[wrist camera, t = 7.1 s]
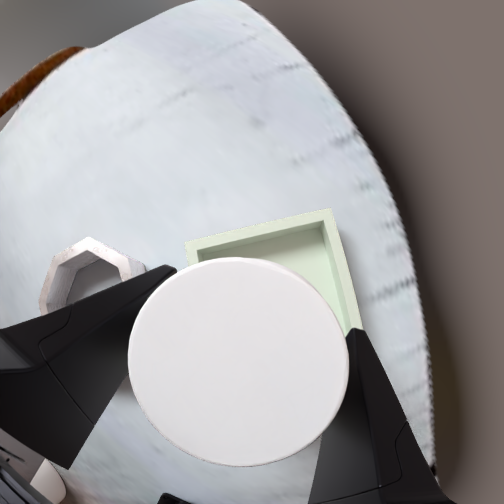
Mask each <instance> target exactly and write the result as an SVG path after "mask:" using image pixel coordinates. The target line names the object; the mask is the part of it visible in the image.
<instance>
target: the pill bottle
mask: <svg viewBox="0 0 504 504" xmlns="http://www.w3.org/2000/svg"><path fill="white" fill-rule="evenodd" d="M128 369H129V376H130V381H131V385H132V388H133V392H134V394H135V397H136V399H137V401H138V403H139V405H140V407H141V409H142V411H143V413H144V414H145V416H146V417H147V419H148V420H149V422H150V423H151V424H152V425H153V426H154V428H155V429H156V430H157V431H158V432H159V433H160V434H161V435H162V436H163V437H164V438H166V439H167V440H168V441H169V442H170V443H172V444H173V445H174V446H176V447H177V448H179V449H180V450H182V451H184V452H185V453H187V454H189V455H191V456H194V457H196V458H199V459H201V460H203V461H207V462H210V463H214V464H218V465H224V466H232V467H252V466H259V465H265V464H269V463H273V462H276V461H279V460H282V459H285V458H287V457H289V456H292V455H294V454H295V453H297V452H299V451H301V450H303V449H304V448H305V447H307V446H308V445H309V444H311V443H312V442H314V441H315V440H316V439H317V438H318V437H319V436H320V435H321V434H322V433H323V432H324V431H325V430H326V428H327V427H328V426H329V424H330V423H331V422H332V420H333V419H334V417H335V416H336V414H337V412H338V410H339V408H340V406H341V403H342V401H343V398H344V395H345V392H346V388H347V384H348V376H349V354H348V349H347V344H346V340H345V336H344V333H343V330H342V328H341V326H340V323H339V321H338V319H337V317H336V315H335V314H334V312H333V310H332V309H331V307H330V306H329V304H328V303H327V302H326V301H325V299H324V298H323V297H322V295H321V294H320V293H319V292H318V290H317V289H316V288H315V287H314V286H313V285H312V284H311V283H310V282H309V281H307V280H306V279H305V278H304V277H302V276H301V275H300V274H298V273H297V272H295V271H293V270H291V269H289V268H287V267H285V266H283V265H280V264H278V263H275V262H271V261H267V260H262V259H255V258H242V257H227V258H218V259H212V260H207V261H203V262H200V263H197V264H194V265H192V266H189V267H187V268H185V269H183V270H181V271H179V272H178V273H176V274H174V275H173V276H171V277H170V278H169V279H167V280H166V281H165V282H164V283H162V284H161V285H160V286H159V287H158V288H157V289H156V290H155V291H154V292H153V293H152V294H151V296H150V297H149V298H148V300H147V301H146V303H145V304H144V305H143V307H142V308H141V310H140V312H139V314H138V316H137V318H136V320H135V323H134V326H133V329H132V332H131V336H130V340H129V349H128Z"/></svg>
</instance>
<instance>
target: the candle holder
mask: <svg viewBox="0 0 504 504" xmlns="http://www.w3.org/2000/svg"><path fill="white" fill-rule="evenodd" d="M30 484H31V485H32V486H33V487H34V488H35V489H36V490H37V491H39V492H40V493H41V494H42V495H43V496H45V497H46V498H47V499H48V500H49V501H51V502H52V503H53V504H59V503H60V502H61V501H62V500H63V499H64V498H65V496H66V488H65V485H64V483H63V481H62V479H61V477H60V475H59V474H58V472H57V471H56V470H55V468H54V467H53V466H52V465H51V463H50V462H49V461H48V460H47V459H46V458H45V460H44V461H43V463H42V464H41V466H40V468H39V469H38V471H37V473H36V474H35V476H34V477H33V479H32V481H31V483H30Z"/></svg>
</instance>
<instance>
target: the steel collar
mask: <svg viewBox="0 0 504 504" xmlns="http://www.w3.org/2000/svg"><path fill="white" fill-rule="evenodd" d="M101 258H102V259H104V260H106V261H108V262H109V263H111V264H113V265H115V266H117V267H118V269H119V272H120V276H121V280H122V282H123V281H126V280H128V279H131V278H133V277H135V276H138V275H140V274H143V273H145V272H146V270H145V267H144V264H143V263H141V262H139V261H137V260H135V259H133V258H131V257H129V256H127V255H125V254H123V253H121V252H120V251H118V250H116V249H114V248H112V247H110V246H108V245H106V244H104V243H102V242H99V241H97V240H95V239H92V238H90V237H87V238H85V239H84V240H82V241H80V242H78V243H76V244H75V245H73V246H71V247H69V248H68V249H66V250H64V251H62V252H61V253H59V254H57V255H56V256H54V257H53V259H52V262H51V265H50V267H49V270H48V273H47V276H46V279H45V282H44V285H43V288H42V291H41V295H40V298H39V306H40V311H41V316H42V315H45V314H48V313H51V312H53V311H55V310H58V309H60V308H63V307H65V306H66V305H65V304H66V301H67V298H68V295H69V292H70V289H71V286H72V283H73V281H74V278H75V275H76V273H77V270H79V269H81V268H83V267H85V266H87V265H89V264H91V263H93V262H95V261H97V260H99V259H101Z"/></svg>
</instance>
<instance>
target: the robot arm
mask: <svg viewBox="0 0 504 504" xmlns="http://www.w3.org/2000/svg"><path fill="white" fill-rule="evenodd" d="M176 273H177V269H176V268H174V267H171V266H169V265H162V266H159V267H157V268H155V269H152V270H150V271H147V272H145V273H143V274H140V275H138V276H135V277H133V278H131V279H128V280H126V281H123V282H121V283H119V284H116V285H114V286H112V287H109V288H107V289H105V290H102V291H100V292H97V293H95V294H93V295H91V296H88V297H86V298H84V299H81V300H79V301H77V302H74V304H70V305H67V306H65V307H63V308H60V309H58V310H55V311H53V312H51V313H48V314H45V315H42V316H40V317H37V318H34V319H31V320H28V321H25V322H22V323H19V324H16V325H13V326H10V327H7V328H3V329H0V504H53V503H52V502H51V501H49V500H48V499H47V498H46V497H45V496H43V495H42V494H41V493H40V492H39V491H37V490H36V489H35V488H34V487H33V486H32V485H31V484H30V483H31V481H32V479H33V477H34V476H35V474H36V473H37V471H38V469H39V468H40V466H41V464H42V463H43V461H44V460H45V458H46V459H48V460H50V461H52V462H54V463H55V464H57V465H59V466H61V467H63V468H65V469H67V470H69V468H70V467H71V465H72V463H73V462H74V460H75V458H76V457H77V455H78V453H79V451H80V450H81V448H82V446H83V445H84V443H85V441H86V440H87V438H88V436H89V435H90V433H91V431H92V430H93V428H94V425H96V423H97V421H98V420H99V418H100V416H101V415H102V413H103V412H104V410H105V408H106V407H107V405H108V404H109V402H110V400H111V399H112V397H113V396H114V394H115V392H116V391H117V389H118V388H119V386H120V385H121V383H122V382H123V380H124V378H125V377H126V375H127V374H128V372H129V369H128V349H129V340H130V336H131V332H132V329H133V326H134V323H135V320H136V318H137V316H138V314H139V312H140V310H141V308H142V307H143V305H144V304H145V303H146V301H147V300H148V298H149V297H150V296H151V294H152V293H153V292H154V291H155V290H156V289H157V288H158V287H159V286H160V285H161V284H162V283H164V282H165V281H166V280H167V279H169V278H170V277H171V276H173V275H174V274H176ZM345 340H346V344H347V349H348V354H349V376H348V384H347V388H346V392H345V395H344V398H343V401H342V403H341V406H340V408H339V410H338V412H337V414H336V416H335V417H334V419H333V420H332V422H331V423H330V424H329V426H328V427H327V428H326V430H325V431H324V432H323V435H322V440H321V446H320V451H319V456H318V461H317V466H316V471H315V475H314V480H313V484H312V489H311V493H310V497H309V501H308V504H457V503H455V502H453V501H452V500H450V499H449V498H448V497H447V496H446V495H445V494H444V493H443V492H442V490H441V489H440V487H439V485H438V483H437V481H436V479H435V477H434V475H433V473H432V471H431V469H430V467H429V465H428V463H427V462H426V460H425V458H424V456H423V454H422V452H421V450H420V448H419V446H418V443H417V441H416V439H415V437H414V434H413V432H412V430H411V428H410V425H409V423H408V421H407V418H406V416H405V414H404V412H403V409H402V407H401V405H400V403H399V400H398V398H397V396H396V394H395V392H394V389H393V387H392V385H391V383H390V381H389V379H388V377H387V374H386V372H385V370H384V368H383V366H382V364H381V362H380V360H379V358H378V356H377V354H376V352H375V350H374V348H373V346H372V344H371V342H370V340H369V338H368V336H367V334H366V332H365V331H364V330H362V329H358V328H355V327H354V328H351V329H350V331H349V332H348V334H347V336H346V337H345ZM166 497H167V498H166ZM157 504H190V503H188V502H185V501H183V500H181V499H178V498H176V497H174V496H172V495H170V494H168V493H163V494H162V495H161V497H160V499H159V501H158V503H157Z"/></svg>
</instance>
